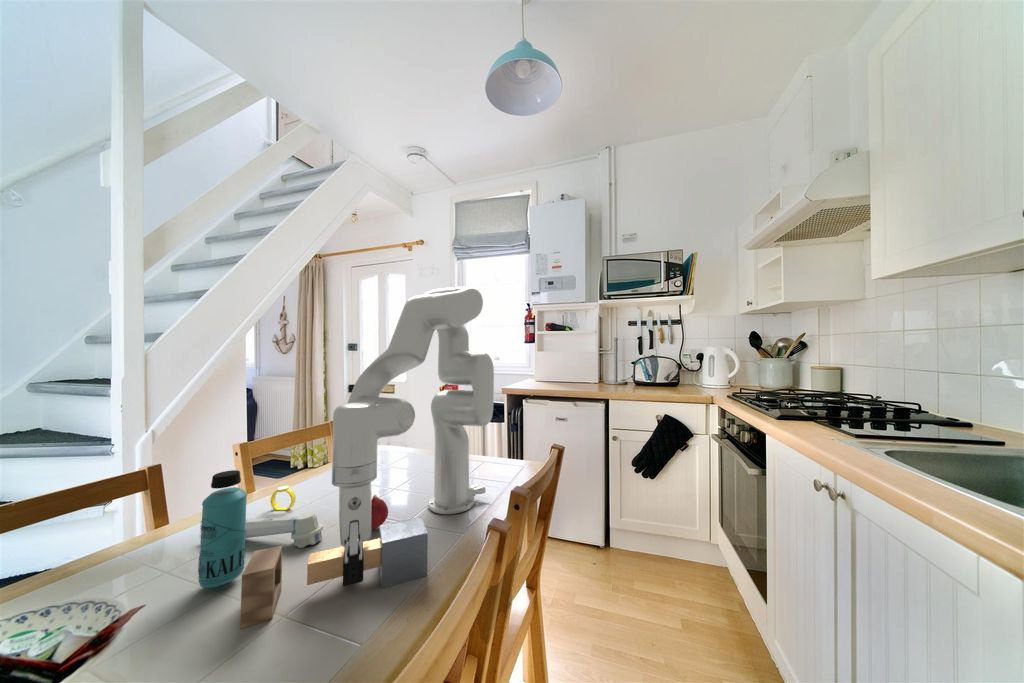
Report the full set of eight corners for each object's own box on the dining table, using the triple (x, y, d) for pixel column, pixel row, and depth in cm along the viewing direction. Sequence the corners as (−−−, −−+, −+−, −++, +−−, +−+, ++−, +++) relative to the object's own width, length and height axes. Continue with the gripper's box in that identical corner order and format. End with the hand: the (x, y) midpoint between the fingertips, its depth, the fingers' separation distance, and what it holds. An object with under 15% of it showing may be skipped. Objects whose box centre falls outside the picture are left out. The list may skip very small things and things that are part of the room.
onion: (393, 525, 81) (393, 491, 81) (376, 537, 75) (376, 501, 76) (373, 521, 83) (374, 488, 83) (356, 533, 77) (356, 498, 78)
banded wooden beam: (418, 548, 67) (419, 524, 67) (423, 561, 63) (423, 535, 63) (309, 575, 59) (310, 547, 59) (306, 592, 55) (307, 562, 55)
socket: (281, 590, 58) (282, 545, 58) (272, 619, 52) (273, 568, 52) (253, 598, 56) (254, 551, 57) (240, 628, 50) (241, 575, 50)
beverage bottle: (216, 574, 63) (220, 467, 64) (254, 572, 63) (257, 465, 64) (185, 599, 56) (190, 479, 57) (227, 596, 57) (231, 478, 58)
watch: (268, 513, 88) (267, 490, 88) (276, 508, 91) (275, 486, 91) (290, 511, 88) (289, 488, 88) (297, 506, 91) (296, 484, 91)
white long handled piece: (225, 516, 78) (326, 504, 76) (228, 545, 78) (329, 534, 76) (203, 528, 73) (310, 515, 71) (205, 559, 72) (313, 547, 71)
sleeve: (420, 555, 68) (421, 516, 69) (427, 575, 62) (427, 532, 62) (379, 565, 65) (379, 525, 65) (381, 588, 59) (382, 543, 59)
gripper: (380, 483, 55) (378, 597, 54) (374, 456, 70) (373, 544, 69) (328, 492, 51) (325, 613, 51) (334, 461, 67) (332, 553, 66)
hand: (353, 572), depth 60 cm, fingers closed on banded wooden beam, 4 cm apart
